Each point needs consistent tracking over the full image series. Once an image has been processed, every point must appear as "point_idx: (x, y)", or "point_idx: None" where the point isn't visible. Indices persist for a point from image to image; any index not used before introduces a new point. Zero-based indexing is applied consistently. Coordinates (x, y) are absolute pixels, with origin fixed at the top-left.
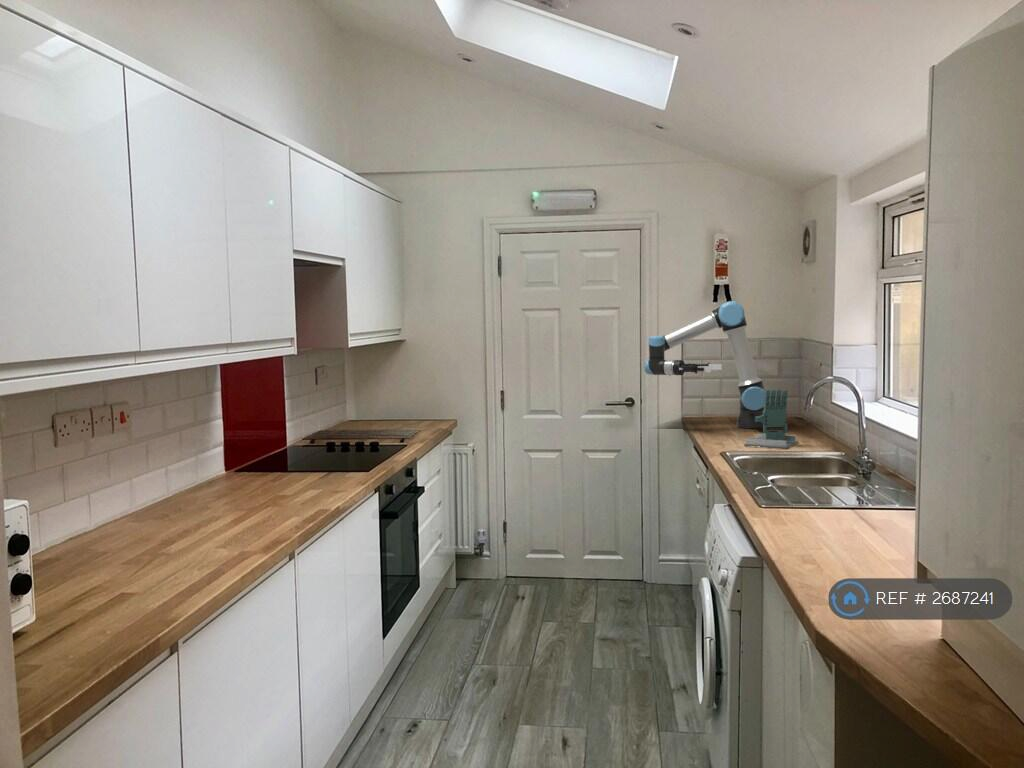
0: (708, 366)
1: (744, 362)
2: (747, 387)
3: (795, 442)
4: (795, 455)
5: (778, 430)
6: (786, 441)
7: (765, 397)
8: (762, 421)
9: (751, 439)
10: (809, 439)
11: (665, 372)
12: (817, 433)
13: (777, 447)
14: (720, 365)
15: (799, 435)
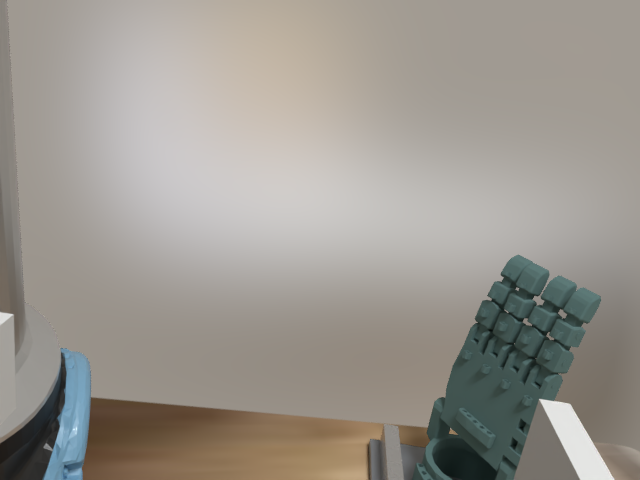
0: (586, 434)
1: (14, 172)
2: (52, 408)
3: (408, 446)
4: (614, 446)
5: (431, 453)
6: (409, 470)
7: (581, 336)
8: None
9: None
10: (266, 420)
11: None
12: (97, 400)
13: None
14: (1, 344)
15: (162, 448)
